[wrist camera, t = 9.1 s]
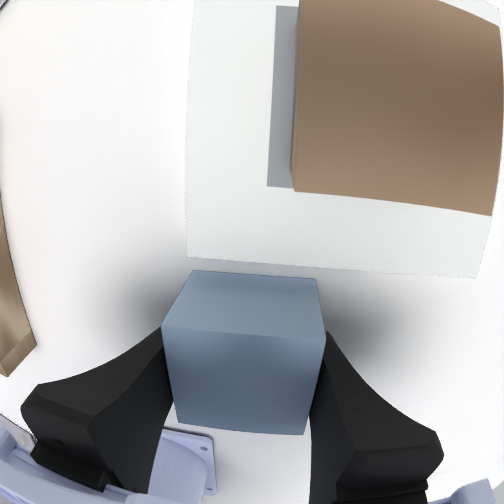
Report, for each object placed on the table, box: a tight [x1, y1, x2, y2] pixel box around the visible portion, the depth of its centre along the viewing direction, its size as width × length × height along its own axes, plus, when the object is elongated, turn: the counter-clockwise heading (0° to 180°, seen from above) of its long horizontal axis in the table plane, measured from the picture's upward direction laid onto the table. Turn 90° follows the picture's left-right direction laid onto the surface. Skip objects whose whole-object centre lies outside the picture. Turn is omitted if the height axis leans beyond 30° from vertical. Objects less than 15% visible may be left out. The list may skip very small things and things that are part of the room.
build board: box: [185, 0, 504, 279], centre depth 9 cm, size 12×12×1 cm
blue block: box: [161, 270, 326, 435], centre depth 12 cm, size 5×5×4 cm
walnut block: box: [290, 0, 504, 217], centre depth 7 cm, size 5×5×4 cm
